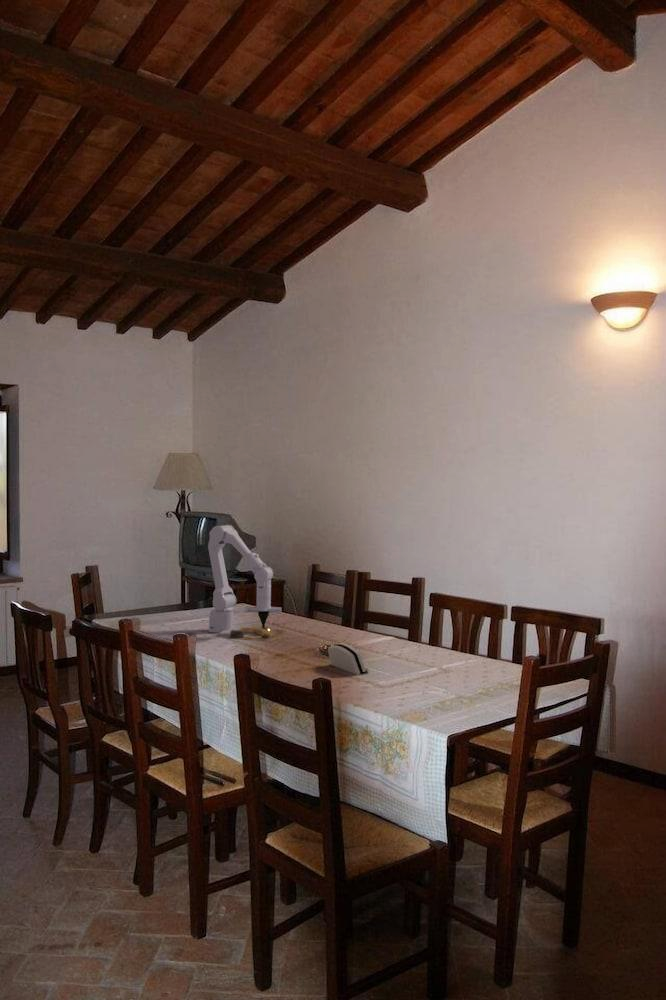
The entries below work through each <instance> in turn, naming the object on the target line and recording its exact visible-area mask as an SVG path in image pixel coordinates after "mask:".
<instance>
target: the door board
mask: <svg viewBox="0 0 666 1000" xmlns="http://www.w3.org/2000/svg"><path fill="white" fill-rule="evenodd" d="M229 631H230V635H229V636H226V638H225V639H227V640H228V639H229V640H242V641H256V642H257V641H258V642H260V641H261V642H275V641H276V639H278V638H279V637H280V636H282V635H283V634H284V633H285V632H287V630H286V629H273V628H270V637H262V636H261V635H259V634H258V633H256V632H254V631H252V627H241V628H240V629H238V630H237V629H236V630H235V629H232V630H229Z"/></svg>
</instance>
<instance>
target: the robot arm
mask: <svg viewBox="0 0 666 1000" xmlns="http://www.w3.org/2000/svg"><path fill="white" fill-rule="evenodd" d="M226 544H231V545H232V547H234V548H235V549H236V551H237V552H239V553H240V555H242V557H243V558H244V564H245V565H246V566H247V567H248V568H249V570H250V571H251V572H252V573H253V576H254V579H255V581H256V606H246V607H245V614H246V613H257V614H258V617H259V619H260V623H261V626H262V627H266V625H265V624H266V622H267V619H268V618H269V614H270V613H275V614H276V613H278V614H282V607H278V606H272V605H271V604H272V601H271V600H272V579H273V577H274V570H273V569H272V567H271V566H269V565H268V566H267V564H266V563H264V561H262V559H261V558H260V555H259V554H258V553H256V552H252V551H251V550H250V549H249V547H247V545H246V544H245V542H244V541H243V539H242V538H241V537H240V535H239V533H238V531H237V530H236V529H235V528H234V526H233V525H230V524H225V525H224V524H223V525H214V526H213V527H212V529H211V530H210V531H209V541H208V544H207V548H208V550H207V551H208V554H209V559H210V565H211V570H212V576H213V579H214V580H213V582H214V586H215V587H214V588H215V589H214V591H213V593H212V595H213V599H212V606H213V608H214V609H210V612H209V621H208V633H218V634H220V633H222V632H224V631H231V630H234V629H233V628H234V626H233V625H234V607H235V606H236V604H237V597H236V595H235V594H234V590H233V589H232V587H231V586H230V585H229V581H228V575H227V570H226V564H225V559H224V554H223V548H224V547H225V545H226Z"/></svg>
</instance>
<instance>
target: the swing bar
mask: <svg viewBox="0 0 666 1000" xmlns="http://www.w3.org/2000/svg"><path fill="white" fill-rule="evenodd" d="M251 628H252V631H254V632H256V633H258V634H259V635H261V636H262V637H270V629H271V628H270V627H267V626H265V627H262V625H259V624H258V623H257V624H256V623H255V624H251Z"/></svg>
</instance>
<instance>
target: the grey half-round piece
mask: <svg viewBox="0 0 666 1000" xmlns="http://www.w3.org/2000/svg"><path fill="white" fill-rule="evenodd" d="M327 652H328V657H329V661H330V664H331V666H333V667H336V668H339V669H342V670H343V671H346V672H349V673H352V674H353V675H356V676H359V675H361V672H362V673H366V674H370V671H369V668H368V667H365V664H364V661H363V659H362V656H361V654H360V652H359V651H358V649H356V648H355V647H353V646H351V645H350V644H348V643H344V642H337V643H334V644H333V645H330V646H329V647H328V648H327Z"/></svg>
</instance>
